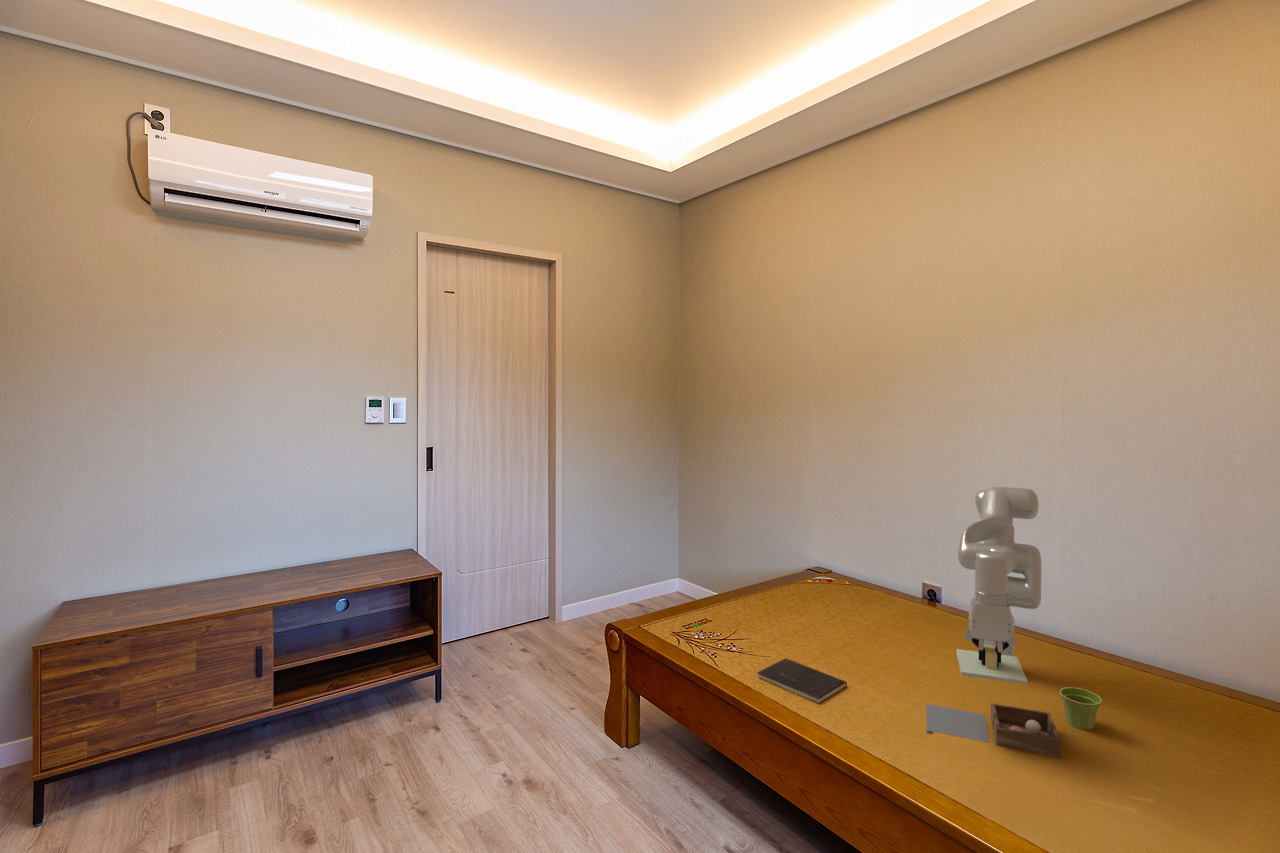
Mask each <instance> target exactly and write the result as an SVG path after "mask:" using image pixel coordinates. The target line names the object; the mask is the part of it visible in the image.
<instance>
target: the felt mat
mask: <svg viewBox="0 0 1280 853" xmlns="http://www.w3.org/2000/svg"><path fill="white" fill-rule="evenodd" d="M925 705H926V708H925V709H926V712H925V714H926V733H927V734H934V733H938V734H943V735H947V736H948V735H949V736H954V737H957V738H958V737H959V738H962V739H963V738H965V739H969V740H974V741H980V742H983V743H988V744H989V743H990V738H989V736H990V735H989V731H988V728H987V722H986V717H985V716H986V715H985V714H984V713H979V712H972V711H967V710H963V709H962V710H961V709H956V708H951V707H946V706H945V707H943V706H940V705H932V704H928V703H927V704H925Z"/></svg>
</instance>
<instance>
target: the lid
mask: <svg viewBox="0 0 1280 853" xmlns="http://www.w3.org/2000/svg"><path fill="white" fill-rule="evenodd" d="M984 648H985V652H986V656H985V665H982V662H981V660H979V651H975V650H967V649H960V648H956V652H955V653H956V657H957V662H958V666H959V670H960V674H961V676H963V677H969V678H978V679H984V680H990V681H998V682H1005V683H1012V684H1020V685H1025V686H1028V684H1029V682H1028V679H1027V677H1026V674H1025V672H1024V670H1023V668H1022V665H1021V663H1020V661H1019V659H1018V656H1015V655H1014V656H1008V655H1001V663H999V667H997V653H996V651H995V648H994V646H990V645H984Z"/></svg>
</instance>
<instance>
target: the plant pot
mask: <svg viewBox="0 0 1280 853" xmlns="http://www.w3.org/2000/svg"><path fill="white" fill-rule="evenodd" d="M1059 694H1060V696H1061V699H1062V701H1063V708H1064V713H1065V721H1066V723H1067V724H1068V725H1070V726H1071V727H1073V728H1076V729H1079V730H1083V731H1084V730H1085V731H1090V730H1091V731H1092V730H1094V728H1095V724H1096V718H1097V714H1098V710H1099V707H1100V705H1101V704H1102V702H1103V700H1102V697H1101V696H1100V695H1098V694H1096V693H1095V692H1093V691H1090V690H1087V689H1083V688H1079V687H1071V686H1070V687H1069V686H1067V687H1062V688H1061V689H1059Z"/></svg>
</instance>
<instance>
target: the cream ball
mask: <svg viewBox="0 0 1280 853" xmlns="http://www.w3.org/2000/svg"><path fill="white" fill-rule="evenodd" d="M1025 727H1026V730H1027V731H1028V732H1029V733H1032V734H1039V733H1040V732H1041V726H1040V724H1039V723H1038V722H1037V721H1035V720H1028V721H1027V722H1026V724H1025Z"/></svg>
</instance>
